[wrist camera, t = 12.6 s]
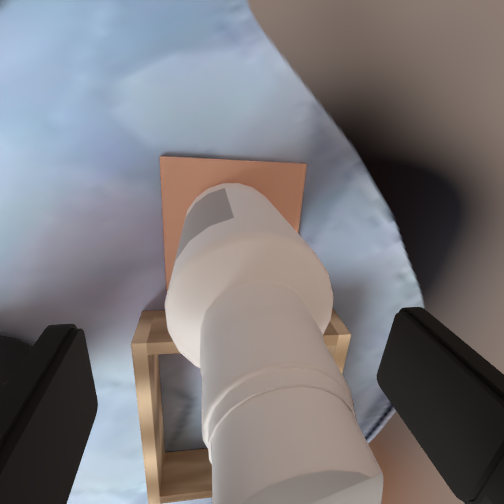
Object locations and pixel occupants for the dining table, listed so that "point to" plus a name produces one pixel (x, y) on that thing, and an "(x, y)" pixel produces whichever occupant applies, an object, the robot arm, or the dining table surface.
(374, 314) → the dining table surface
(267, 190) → the thin terracotta tile
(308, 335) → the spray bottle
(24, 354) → the cola bottle
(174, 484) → the frame
